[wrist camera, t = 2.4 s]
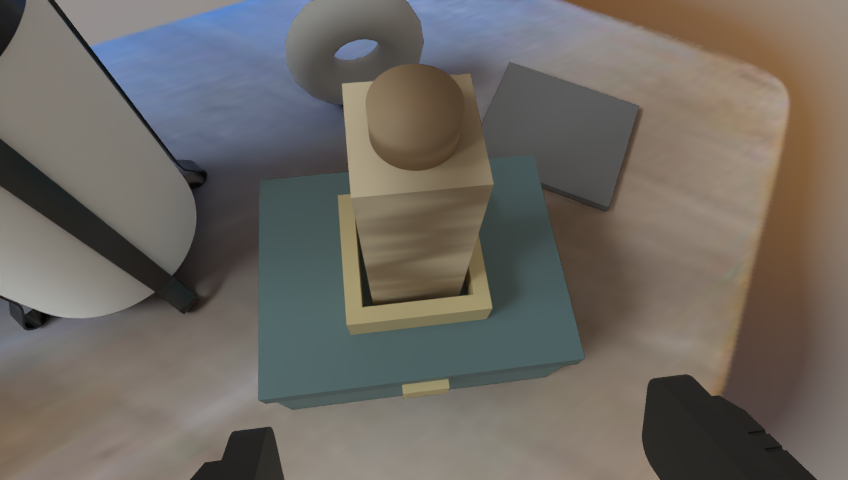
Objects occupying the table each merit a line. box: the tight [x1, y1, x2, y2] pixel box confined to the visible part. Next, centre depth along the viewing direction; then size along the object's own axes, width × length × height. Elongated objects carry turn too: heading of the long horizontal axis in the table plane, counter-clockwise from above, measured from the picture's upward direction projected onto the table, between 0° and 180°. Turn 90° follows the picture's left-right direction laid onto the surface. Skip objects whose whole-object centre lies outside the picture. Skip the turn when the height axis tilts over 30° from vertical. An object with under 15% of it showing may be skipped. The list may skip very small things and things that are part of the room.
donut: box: [285, 0, 424, 105], centre depth 36 cm, size 10×4×10 cm, turn 107°
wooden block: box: [342, 64, 494, 306], centre depth 22 cm, size 4×4×14 cm
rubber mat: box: [481, 62, 639, 211], centre depth 40 cm, size 11×10×1 cm
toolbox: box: [258, 155, 585, 410], centre depth 30 cm, size 16×13×9 cm
